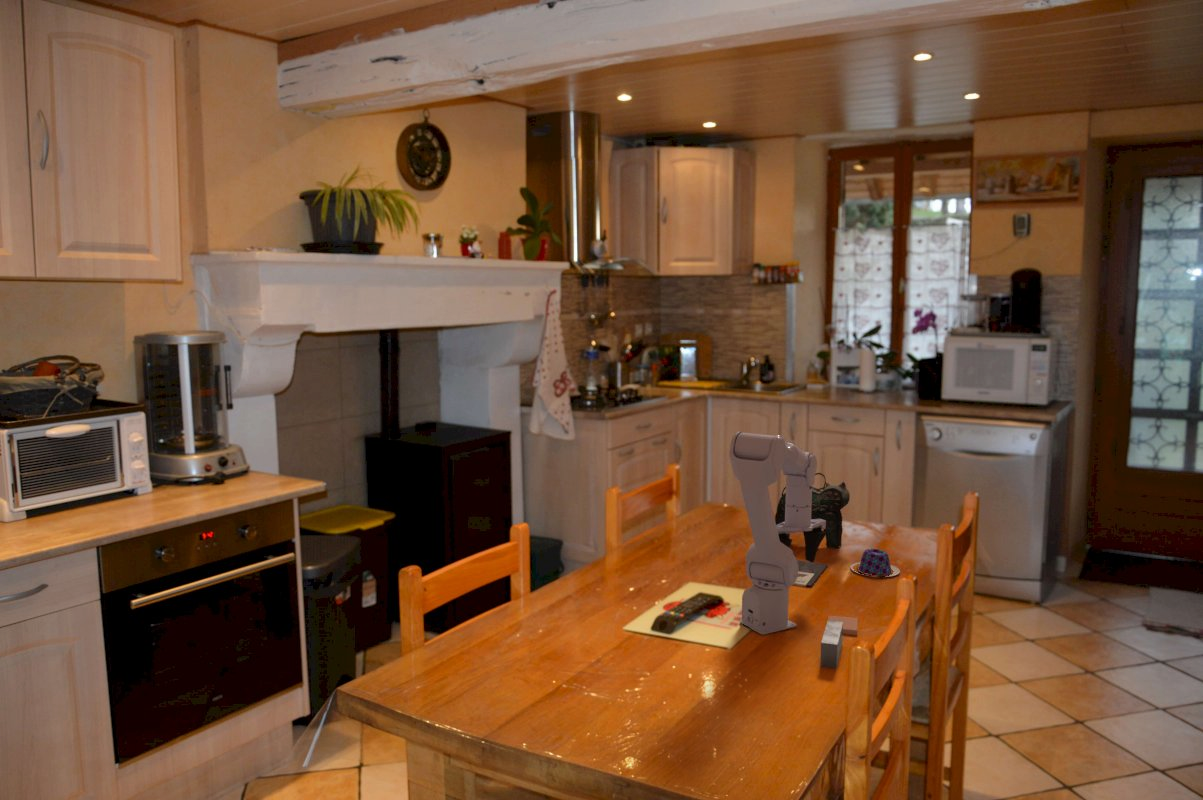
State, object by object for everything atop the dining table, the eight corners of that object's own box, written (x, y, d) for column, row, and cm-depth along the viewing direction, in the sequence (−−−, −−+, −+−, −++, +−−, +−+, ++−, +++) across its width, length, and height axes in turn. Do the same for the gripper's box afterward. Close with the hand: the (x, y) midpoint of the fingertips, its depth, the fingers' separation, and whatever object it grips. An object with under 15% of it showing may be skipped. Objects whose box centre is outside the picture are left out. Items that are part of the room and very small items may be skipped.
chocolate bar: (827, 564, 234) (811, 585, 217) (827, 567, 234) (811, 589, 218) (793, 559, 237) (774, 580, 221) (792, 563, 238) (774, 583, 222)
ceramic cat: (848, 546, 251) (851, 474, 248) (841, 552, 246) (844, 479, 243) (779, 535, 261) (781, 466, 259) (771, 540, 256) (773, 470, 253)
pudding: (909, 577, 226) (910, 557, 225) (864, 581, 223) (865, 560, 222) (884, 562, 237) (885, 543, 236) (841, 566, 235) (842, 546, 234)
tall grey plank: (836, 670, 173) (837, 644, 172) (820, 667, 174) (821, 642, 173) (842, 645, 184) (843, 622, 184) (827, 643, 185) (827, 620, 185)
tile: (857, 630, 189) (857, 618, 196) (827, 627, 191) (828, 615, 197) (857, 637, 189) (857, 624, 196) (827, 634, 191) (828, 622, 197)
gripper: (784, 512, 197) (782, 573, 199) (835, 504, 204) (833, 563, 206) (763, 505, 203) (762, 564, 205) (814, 497, 210) (812, 555, 212)
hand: (796, 563), depth 206 cm, fingers open, 7 cm apart
